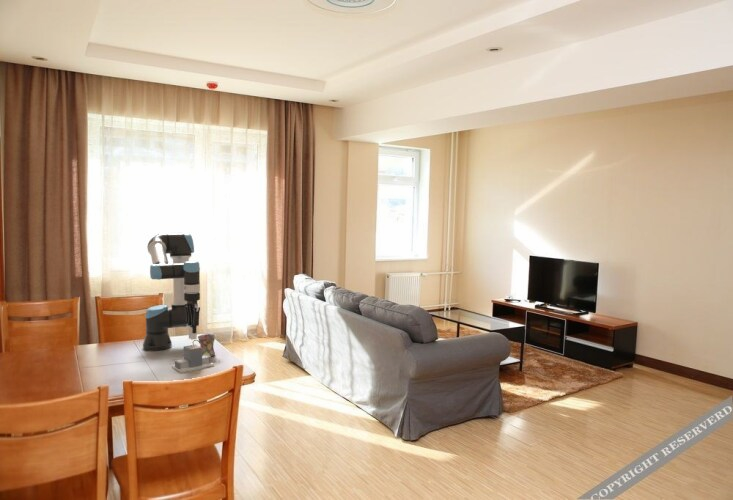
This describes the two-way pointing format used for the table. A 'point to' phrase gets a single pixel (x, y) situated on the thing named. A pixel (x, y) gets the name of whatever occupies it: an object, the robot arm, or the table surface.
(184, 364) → the butter dish
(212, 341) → the mug
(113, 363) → the table surface
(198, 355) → the module
